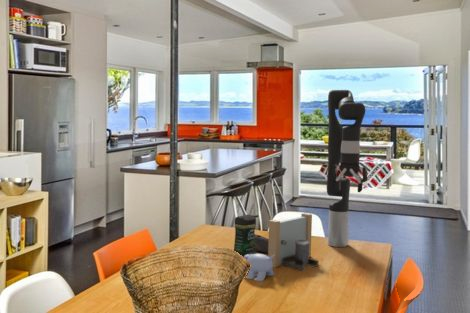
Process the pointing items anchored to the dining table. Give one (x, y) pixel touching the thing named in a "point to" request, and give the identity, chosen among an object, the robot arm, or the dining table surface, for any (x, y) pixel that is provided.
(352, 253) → the dining table surface
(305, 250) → the bar
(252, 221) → the coffee jar
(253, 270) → the hippopotamus toy
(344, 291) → the dining table surface
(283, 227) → the door
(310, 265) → the keeper
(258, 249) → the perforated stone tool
